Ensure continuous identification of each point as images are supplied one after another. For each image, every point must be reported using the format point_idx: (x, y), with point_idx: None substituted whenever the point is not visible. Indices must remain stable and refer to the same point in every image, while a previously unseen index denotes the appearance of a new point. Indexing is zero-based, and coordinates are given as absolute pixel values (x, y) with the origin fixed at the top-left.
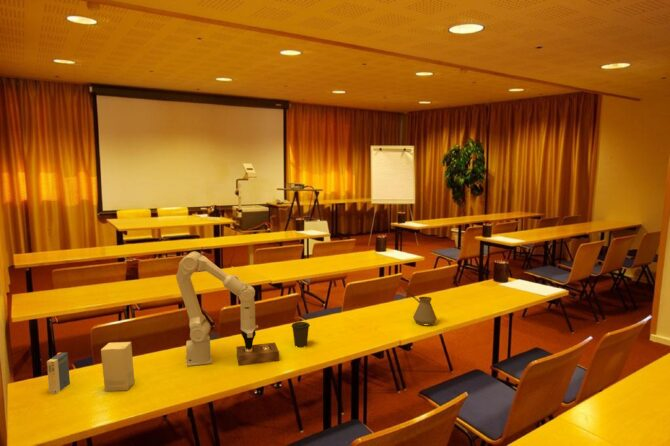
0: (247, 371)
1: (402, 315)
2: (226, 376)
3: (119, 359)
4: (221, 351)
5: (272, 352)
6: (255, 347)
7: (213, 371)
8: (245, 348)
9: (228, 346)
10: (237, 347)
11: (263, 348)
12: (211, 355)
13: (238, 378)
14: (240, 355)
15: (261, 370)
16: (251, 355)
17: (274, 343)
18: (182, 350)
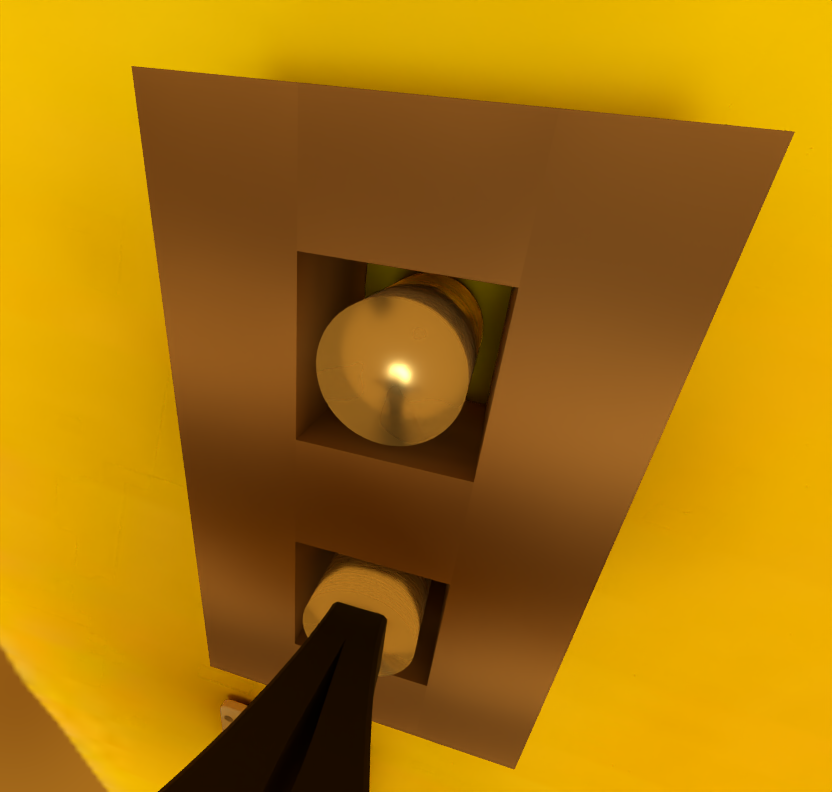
0: (717, 639)
1: None
2: (687, 782)
3: None
4: (155, 619)
5: (706, 321)
6: (302, 513)
7: (517, 788)
8: None
9: (60, 547)
10: (239, 669)
11: (412, 433)
12: (236, 711)
13: (824, 751)
14: (512, 751)
15: (826, 522)
16: (560, 644)
17: (191, 99)
18: (113, 750)
